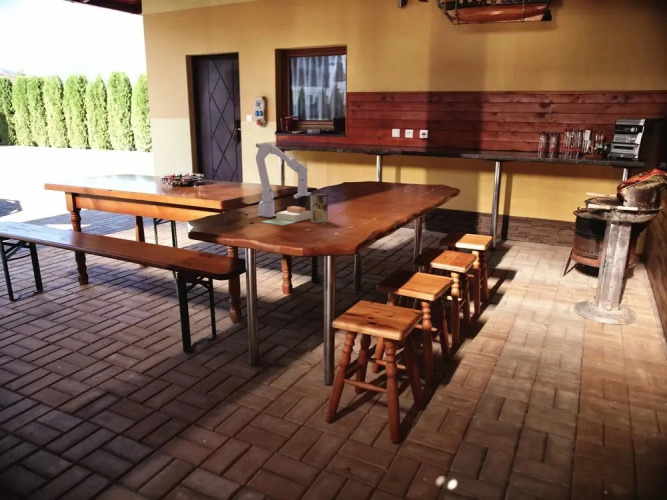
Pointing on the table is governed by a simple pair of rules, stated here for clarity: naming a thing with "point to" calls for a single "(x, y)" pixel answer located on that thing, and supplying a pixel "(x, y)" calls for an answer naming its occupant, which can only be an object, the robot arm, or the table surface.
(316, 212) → the coffee box
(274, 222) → the green mat
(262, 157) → the robot arm
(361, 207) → the table surface
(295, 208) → the terracotta tile
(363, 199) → the table surface
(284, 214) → the white panel
